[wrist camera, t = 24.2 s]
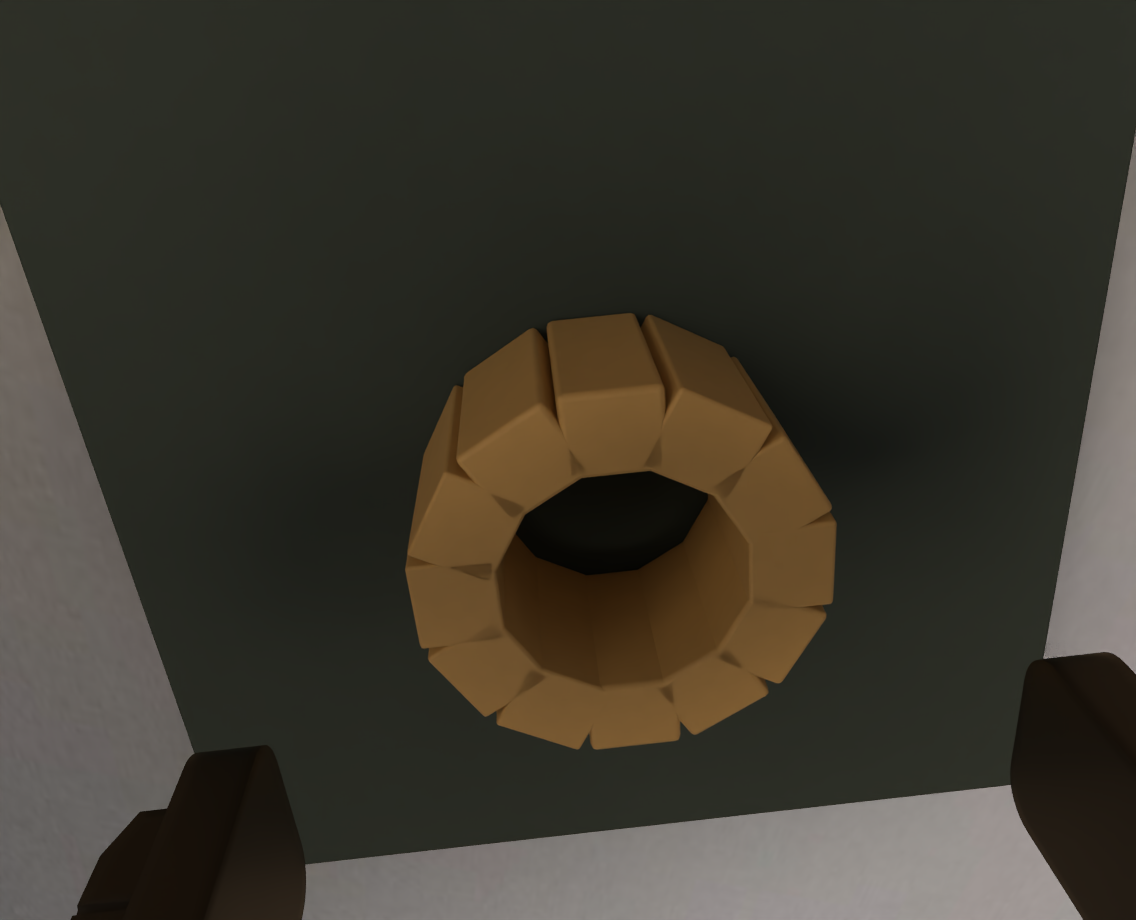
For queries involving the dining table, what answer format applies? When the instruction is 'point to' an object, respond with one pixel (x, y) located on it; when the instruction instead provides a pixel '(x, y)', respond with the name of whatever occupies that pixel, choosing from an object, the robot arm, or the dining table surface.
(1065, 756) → the robot arm
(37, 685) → the dining table surface
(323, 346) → the mat
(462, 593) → the segmented tan ring
